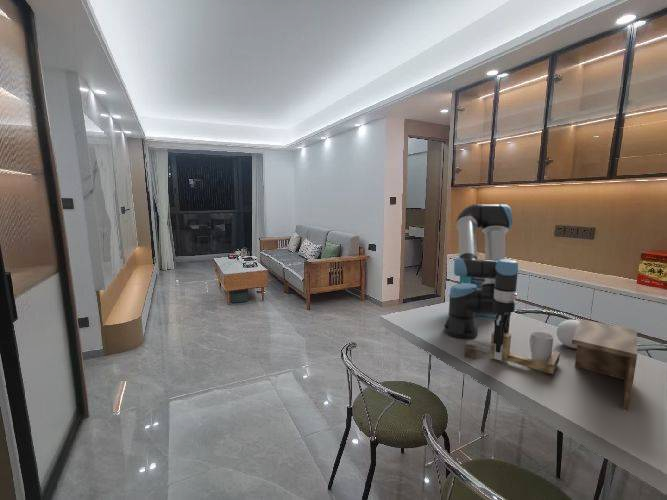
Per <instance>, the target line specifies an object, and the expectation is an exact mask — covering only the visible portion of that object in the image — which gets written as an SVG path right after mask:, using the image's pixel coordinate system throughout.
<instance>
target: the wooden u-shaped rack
mask: <svg viewBox="0 0 667 500" xmlns="http://www.w3.org/2000/svg"><path fill="white" fill-rule="evenodd" d="M490 335H491V336H490V339H491V340H490V348H491V349H490V353H489V357H490V359H491V358H492V359H494V351H495V343H493V341H494V330H493V331H492V332H491V334H490ZM511 339H512V334H511V333H505V332H504V335H503V342H502V343H503V353H502V362H505V363H507V362H511V363H512V364H513V363H514V364H517V365H520V366H524V367H527V368H531V369H534V370H537V371H541V372H544V373H546V374H551V375H554V373H555V370H556V369H557V367H558V364H559V362H560V356H561V352H560V351H555V350H553V351H552V355H551V357H550V359H549V361H548V363H547V364H546V363H542V362H538V361H535V360H531V358H528V357H527V358H526V357H525V356H524V357H523V356H520V355H517V354H513V353H511V343H512V342H511V341H512V340H511Z"/></svg>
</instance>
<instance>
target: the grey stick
mask: <svg viewBox="0 0 667 500" xmlns="http://www.w3.org/2000/svg"><path fill="white" fill-rule="evenodd" d="M466 344H468V345H473V346H477V347H476V351H477V350H478V351H481V352H484V353H487V354H490V349H491V346H490V347H489V346H485V345H482V344H481V343H477V342H473V341H470V340H467V341H465V347H466Z"/></svg>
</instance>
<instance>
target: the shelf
mask: <svg viewBox="0 0 667 500" xmlns="http://www.w3.org/2000/svg"><path fill="white" fill-rule="evenodd" d="M579 321H580V322H579V324H578V327H577V329H576V332H575V334H574V337H573V339H572V344H575V345H577V348H576V353H575V361H574V367H577V368H581V369H585V370H588V371H593V372H595V373H599V374H602V375H603V374H604V375H607V376H609V377H614V378H617V379H622V380H624V386H623V388H624V389H623V411H625V412H629V410H630V404H631V398H632V397H631V396H632V393H633V392H632V391H633V384H634V378H635V371H636V367H637V360H638V359H637V358H638V329H633V328H628V327H624V326H623V327H622V326H618V325H614V324H608V323H603V322H599V321H597V322H596V321H593V320H588V319H582V318H580V319H579Z"/></svg>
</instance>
